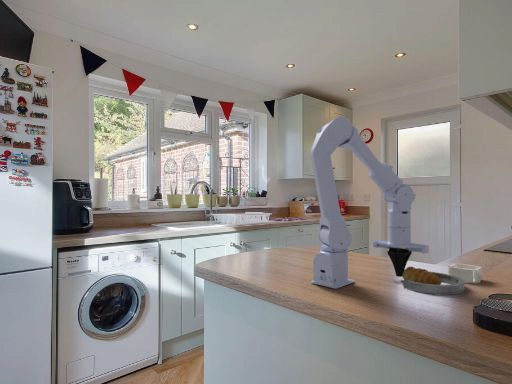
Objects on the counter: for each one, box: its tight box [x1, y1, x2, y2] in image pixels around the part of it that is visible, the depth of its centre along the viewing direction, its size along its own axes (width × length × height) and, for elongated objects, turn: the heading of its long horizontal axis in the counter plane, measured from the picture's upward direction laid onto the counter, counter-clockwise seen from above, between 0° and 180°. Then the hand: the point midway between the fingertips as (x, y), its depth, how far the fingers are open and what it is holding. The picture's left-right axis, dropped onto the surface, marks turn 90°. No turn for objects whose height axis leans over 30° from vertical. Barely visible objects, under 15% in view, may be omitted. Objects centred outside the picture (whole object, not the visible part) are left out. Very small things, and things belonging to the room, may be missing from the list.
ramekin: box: [448, 263, 483, 284], centre depth 90 cm, size 7×7×4 cm
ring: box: [402, 270, 465, 296], centre depth 83 cm, size 15×12×2 cm
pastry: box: [402, 266, 442, 285], centre depth 87 cm, size 9×7×4 cm
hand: (399, 275), depth 90 cm, fingers closed
